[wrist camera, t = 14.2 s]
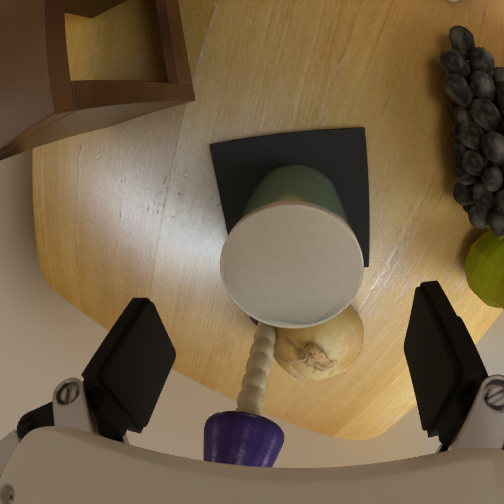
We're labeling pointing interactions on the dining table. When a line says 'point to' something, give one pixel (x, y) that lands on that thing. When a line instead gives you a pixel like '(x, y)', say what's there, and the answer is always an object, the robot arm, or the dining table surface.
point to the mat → (297, 153)
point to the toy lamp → (247, 414)
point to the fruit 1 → (476, 129)
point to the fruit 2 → (487, 269)
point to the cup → (292, 251)
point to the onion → (320, 347)
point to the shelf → (58, 77)
